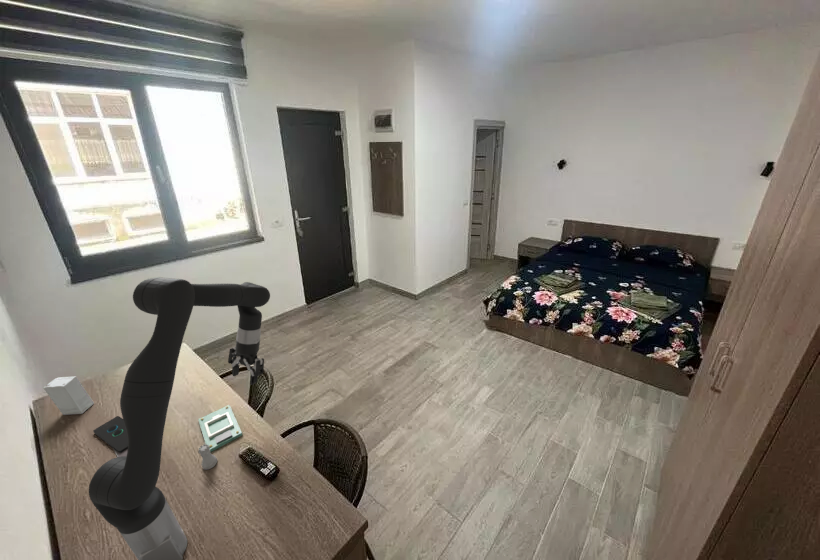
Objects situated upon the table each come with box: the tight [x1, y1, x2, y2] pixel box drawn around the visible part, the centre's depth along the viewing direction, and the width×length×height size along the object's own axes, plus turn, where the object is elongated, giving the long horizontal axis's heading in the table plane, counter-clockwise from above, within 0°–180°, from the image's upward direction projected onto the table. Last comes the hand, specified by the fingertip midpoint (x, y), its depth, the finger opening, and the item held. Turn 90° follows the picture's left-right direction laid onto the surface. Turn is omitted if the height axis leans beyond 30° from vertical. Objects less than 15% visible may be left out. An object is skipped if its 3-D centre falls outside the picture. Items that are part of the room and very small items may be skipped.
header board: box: [198, 404, 243, 453], centre depth 119 cm, size 18×11×2 cm, turn 40°
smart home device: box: [93, 415, 128, 453], centre depth 118 cm, size 8×2×20 cm
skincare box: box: [43, 375, 95, 416], centre depth 127 cm, size 8×6×15 cm
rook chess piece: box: [197, 443, 218, 470], centre depth 105 cm, size 4×4×8 cm
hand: (244, 379), depth 116 cm, fingers open, 8 cm apart
